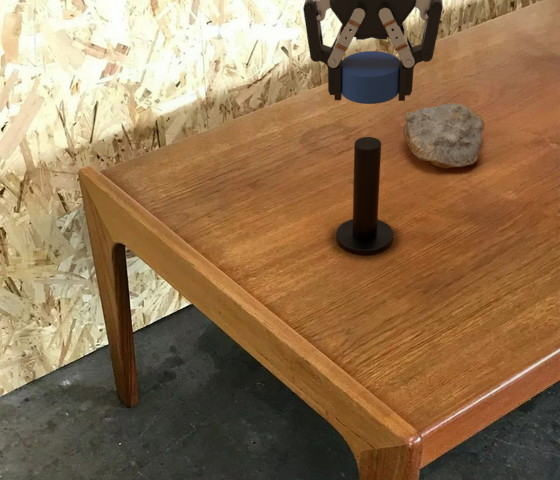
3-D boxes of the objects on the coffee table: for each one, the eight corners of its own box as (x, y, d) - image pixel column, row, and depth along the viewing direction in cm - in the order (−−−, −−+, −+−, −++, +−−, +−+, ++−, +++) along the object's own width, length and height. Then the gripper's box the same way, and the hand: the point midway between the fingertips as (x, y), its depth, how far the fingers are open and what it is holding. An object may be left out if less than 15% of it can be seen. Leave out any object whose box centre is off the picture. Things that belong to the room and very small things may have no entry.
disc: (399, 77, 87) (401, 50, 85) (398, 104, 83) (400, 76, 80) (342, 77, 88) (343, 50, 86) (339, 104, 83) (339, 76, 81)
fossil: (483, 174, 107) (434, 130, 102) (436, 199, 113) (388, 158, 108) (493, 111, 112) (446, 66, 108) (447, 137, 119) (401, 96, 114)
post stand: (393, 223, 101) (399, 128, 91) (392, 256, 96) (398, 159, 86) (338, 221, 101) (338, 127, 92) (334, 254, 96) (334, 158, 87)
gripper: (293, -59, 72) (300, 113, 84) (454, -63, 70) (438, 114, 82) (301, -84, 77) (307, 82, 89) (452, -88, 76) (437, 82, 87)
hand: (370, 97), depth 86 cm, fingers closed on disc, 6 cm apart
